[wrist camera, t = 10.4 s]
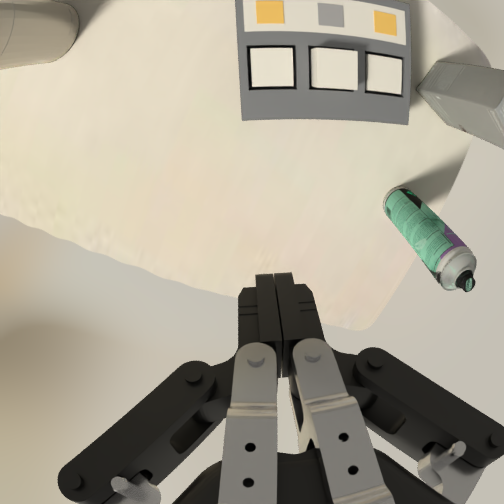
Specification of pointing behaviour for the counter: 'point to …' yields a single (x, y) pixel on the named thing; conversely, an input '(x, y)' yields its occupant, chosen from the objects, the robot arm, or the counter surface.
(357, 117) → the button panel
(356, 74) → the middle button
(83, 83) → the counter surface
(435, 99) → the skincare box
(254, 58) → the button
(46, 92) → the counter surface
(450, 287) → the spray can
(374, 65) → the button
